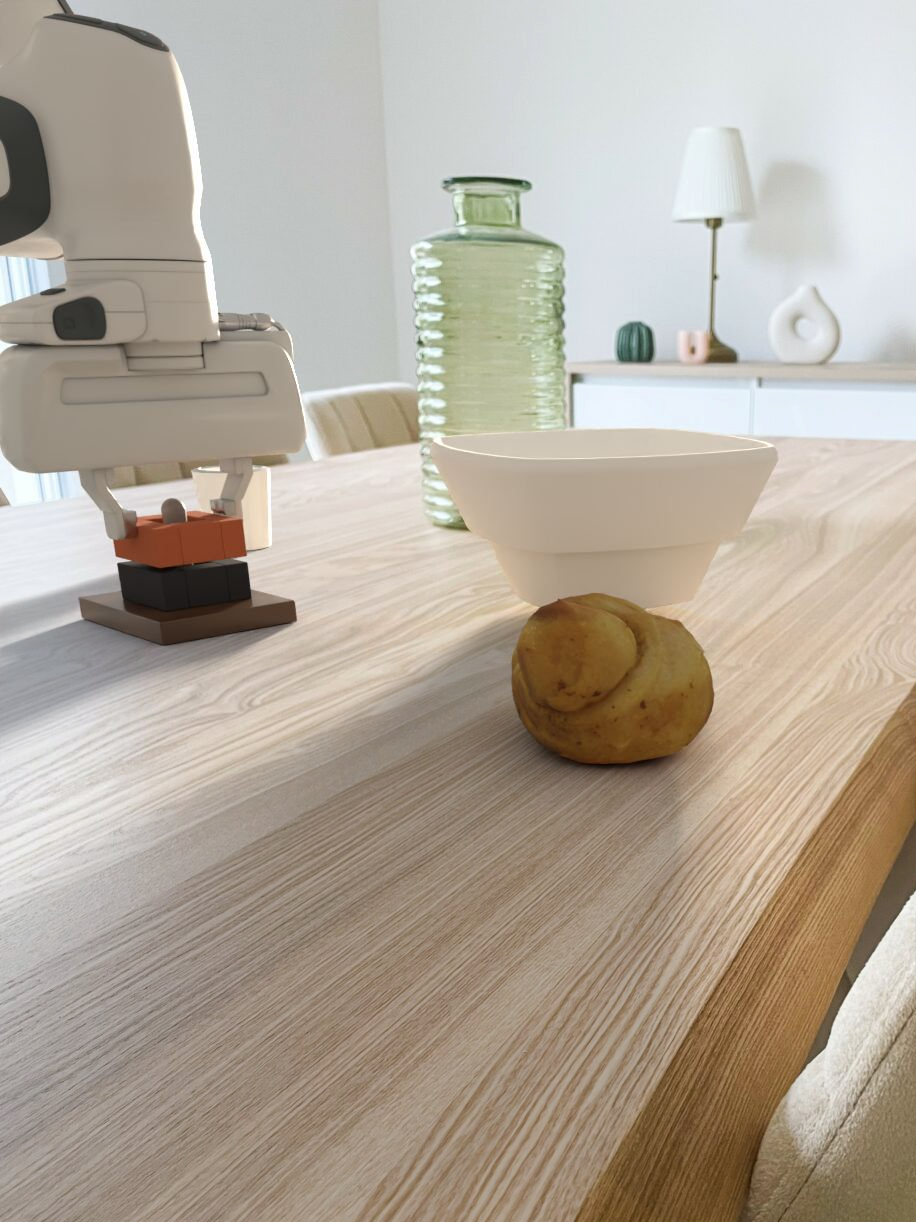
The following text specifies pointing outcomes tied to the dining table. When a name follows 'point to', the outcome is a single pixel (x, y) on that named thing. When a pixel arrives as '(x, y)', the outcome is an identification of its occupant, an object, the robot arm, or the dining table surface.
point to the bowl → (604, 506)
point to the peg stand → (186, 621)
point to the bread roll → (609, 681)
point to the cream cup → (253, 503)
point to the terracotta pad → (184, 540)
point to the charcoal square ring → (185, 584)
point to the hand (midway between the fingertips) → (177, 532)
